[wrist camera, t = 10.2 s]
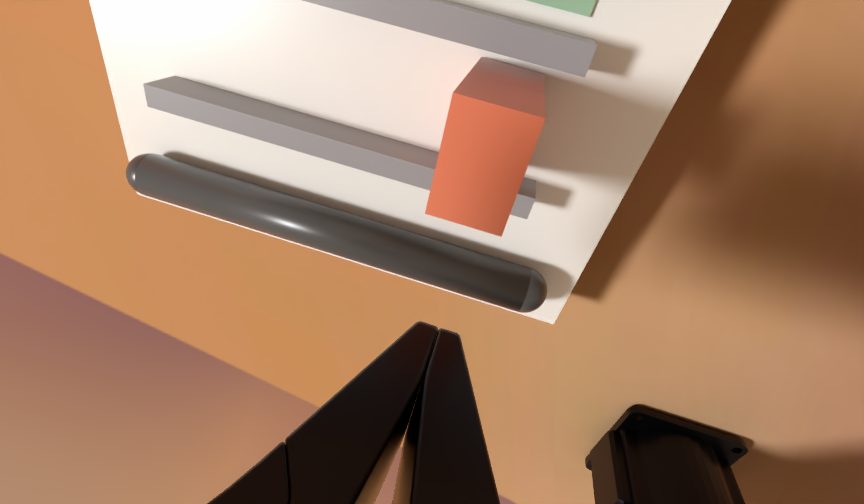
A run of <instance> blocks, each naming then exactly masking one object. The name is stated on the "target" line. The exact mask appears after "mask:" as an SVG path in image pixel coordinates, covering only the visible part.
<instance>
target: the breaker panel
mask: <svg viewBox="0 0 864 504" xmlns="http://www.w3.org/2000/svg"><path fill="white" fill-rule="evenodd" d="M89 1H90V5H91V9H92V13H93V17H94V21H95V25H96V30H97V34H98V38H99V42H100V46H101V50H102V54H103V58H104V62H105V66H106V70H107V74H108V78H109V82H110V86H111V90H112V94H113V98H114V102H115V107H116V111H117V115H118V119H119V123H120V127H121V131H122V135H123V139H124V143H125V147H126V151H127V155H128V159H129V164H128V166H127V169H126V177H127V180H128V182H129V184H130V185H131V186H132V188H133V189H134V190H136V192H137V194H138V195H141V196H144V197H148V198H151V199H154V200H157V201H160V202H164V203H167V204H170V205H173V206H176V207H180V208H183V209H186V210H189V211H192V212H196V213H199V214H202V215H205V216H208V217H212V218H215V219H218V220H221V221H224V222H228V223H231V224H234V225H237V226H240V227H244V228H247V229H250V230H253V231H256V232H260V233H263V234H266V235H269V236H272V237H276V238H279V239H282V240H285V241H288V242H292V243H295V244H298V245H301V246H304V247H308V248H311V249H314V250H317V251H320V252H324V253H327V254H330V255H333V256H336V257H340V258H343V259H346V260H349V261H352V262H356V263H359V264H362V265H365V266H368V267H372V268H375V269H378V270H381V271H384V272H387V273H391V274H394V275H397V276H400V277H403V278H407V279H410V280H413V281H416V282H419V283H423V284H426V285H429V286H432V287H435V288H439V289H442V290H445V291H448V292H451V293H455V294H458V295H461V296H464V297H467V298H471V299H474V300H477V301H480V302H483V303H487V304H490V305H493V306H496V307H499V308H503V309H506V310H509V311H512V312H515V313H519V314H522V315H525V316H528V317H531V318H535V319H538V320H541V321H544V322H547V323H551V324H554V322H555V320H556V319H557V317H558V315H559V313H560V311H561V309H562V308H563V306H564V304H565V302H566V300H567V299H568V297H569V295H570V293H571V291H572V289H573V288H574V286H575V284H576V282H577V280H578V279H579V277H580V275H581V273H582V271H583V269H584V268H585V266H586V264H587V262H588V260H589V259H590V257H591V255H592V253H593V251H594V249H595V248H596V246H597V244H598V242H599V240H600V239H601V237H602V235H603V233H604V231H605V229H606V228H607V226H608V224H609V222H610V220H611V219H612V217H613V215H614V213H615V211H616V209H617V208H618V206H619V204H620V202H621V200H622V199H623V197H624V195H625V193H626V191H627V189H628V188H629V186H630V184H631V182H632V180H633V179H634V177H635V175H636V173H637V171H638V169H639V168H640V166H641V164H642V162H643V160H644V159H645V157H646V155H647V153H648V151H649V149H650V148H651V146H652V144H653V142H654V140H655V139H656V137H657V135H658V133H659V131H660V129H661V128H662V126H663V124H664V122H665V120H666V119H667V117H668V115H669V113H670V111H671V109H672V108H673V106H674V104H675V102H676V100H677V99H678V97H679V95H680V93H681V91H682V89H683V88H684V86H685V84H686V82H687V80H688V79H689V77H690V75H691V73H692V71H693V69H694V68H695V66H696V64H697V62H698V60H699V59H700V57H701V55H702V53H703V51H704V49H705V48H706V46H707V44H708V42H709V40H710V39H711V37H712V35H713V33H714V31H715V29H716V28H717V26H718V24H719V22H720V20H721V19H722V17H723V15H724V13H725V11H726V9H727V8H728V6H729V4H730V2H731V0H89ZM481 57H484V58H488V59H492V60H495V61H499V62H503V63H506V64H510V65H514V66H517V67H521V68H525V69H528V70H532V71H536V72H539V73H543V74H544V78H545V111H546V119H545V122H544V125H543V127H542V130H541V133H540V135H539V138H538V141H537V143H536V146H535V149H534V151H533V154H532V157H531V159H530V162H529V165H528V167H527V170H526V173H525V175H524V178H523V181H522V183H521V186H520V189H519V191H518V194H517V197H516V199H515V202H514V205H513V207H512V210H511V213H510V215H509V218H508V221H507V223H506V226H505V229H504V231H503V234H502V237H501V236H497V235H494V234H491V233H487V232H484V231H481V230H477V229H474V228H471V227H467V226H464V225H461V224H457V223H454V222H451V221H447V220H444V219H441V218H437V217H434V216H431V215H428V214H425V211H426V206H427V202H428V198H429V193H430V189H431V185H432V180H433V176H434V172H435V167H436V163H437V159H438V154H439V150H440V146H441V141H442V137H443V133H444V128H445V124H446V120H447V115H448V111H449V107H450V102H451V98H452V94H453V92H454V90H455V89H456V88H457V87H458V85H459V84H460V83H461V82H462V80H463V79H464V78H465V77H466V75H467V74H468V73H469V72H470V70H471V69H472V68H473V67H474V65H475V64H476V63H477V62H478V60H479V59H480V58H481Z"/></svg>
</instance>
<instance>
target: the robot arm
mask: <svg viewBox="0 0 864 504" xmlns="http://www.w3.org/2000/svg"><path fill="white" fill-rule="evenodd" d="M436 335H437V336H436ZM435 338H436V339H435ZM434 341H435V342H434ZM433 344H434V345H433ZM429 357H430V358H429ZM428 360H429V361H428ZM423 376H424V377H423ZM422 379H423V380H422ZM417 395H418V396H417ZM416 398H417V399H416ZM415 401H416V402H415ZM414 404H415V405H414ZM412 411H413V412H412ZM411 414H412V415H411ZM410 417H411V418H410ZM409 420H410V421H409ZM408 423H409V424H408ZM407 426H408V428H407ZM406 429H407V431H406ZM405 432H406V435H405ZM404 435H405V438H404ZM403 438H404V443H403V448H402V453H401V458H400V463H399V468H398V474H397V479H396V484H395V490H394V495H393V500H392V504H500V501H499V497H498V492H497V488H496V484H495V480H494V476H493V472H492V467H491V463H490V459H489V455H488V451H487V446H486V442H485V438H484V434H483V430H482V426H481V421H480V417H479V413H478V409H477V405H476V401H475V396H474V392H473V388H472V384H471V380H470V375H469V371H468V367H467V363H466V359H465V355H464V350H463V346H462V342H461V338H460V336H459V334H457V333H455V332H452V331H449V330H446V329H442V328H441V329H439V330H438V329H437V327H436V326H433V325H430V324H427V323H424V322H421V321H419V322H417V323H415V324H414V325H413V326H412V327H411V328H410V329H408V330H407V331H406V332H405V333H404V334H403V335H402V336H401V337H399V338H398V339H397V340H396V341H395V342H394V343H393V344H392V345H390V346H389V347H388V348H387V349H386V350H385V351H384V352H383V353H381V354H380V355H379V356H378V357H377V358H376V359H375V360H374V361H372V362H371V363H370V364H369V365H368V366H367V367H366V368H365V369H363V370H362V371H361V372H360V373H359V374H358V375H357V376H356V377H354V378H353V379H352V380H351V381H350V382H349V383H348V384H347V385H345V386H344V387H343V388H342V389H341V390H340V391H339V392H338V393H336V394H335V395H334V396H333V397H332V398H331V399H330V400H328V401H327V402H326V403H325V404H324V405H323V406H322V407H321V408H319V409H318V410H317V411H316V412H315V413H314V414H313V415H312V416H310V417H309V418H308V419H307V420H306V421H305V422H304V423H303V424H301V425H300V426H299V427H298V428H297V429H296V430H295V431H294V432H292V433H291V434H290V435H289V436H288V437H287V438H286V440H285V443H284V442H281V443H280V444H279V445H278V446H276V447H275V448H274V449H273V450H272V451H271V452H270V453H269V454H267V455H266V456H265V457H264V458H263V459H262V460H261V461H259V462H258V463H257V464H256V465H255V466H253V467H252V468H251V469H250V470H249V471H247V472H246V473H245V474H244V475H243V476H242V477H240V478H239V479H238V480H237V481H236V482H234V483H233V484H232V485H231V486H230V487H228V488H227V489H226V490H224V491H223V492H222V493H220V494H219V495H218V496H216V497H215V498H214V499H213V500H212V501H210V502H209V503H207V504H374V503H375V501H376V498H377V496H378V494H379V491H380V489H381V487H382V485H383V483H384V481H385V478H386V476H387V474H388V472H389V470H390V467H391V465H392V463H393V461H394V458H395V456H396V454H397V452H398V450H399V447H400V445H401V443H402V440H403ZM747 452H748V449H747V446H746V444H745V442H744V441H743V440H741V439H738V438H735V437H732V436H729V435H726V434H723V433H720V432H717V431H714V430H710V429H707V428H704V427H701V426H698V425H695V424H692V423H689V422H686V421H682V420H679V419H676V418H673V417H670V416H667V415H664V414H661V413H658V412H654V411H651V410H648V409H645V408H642V407H638V406H633V407H630V408H628V409H627V410H626V411H625V413H624V414H623V415H622V416H621V417H620V418H619V420H618V421H617V422H616V423H615V424H614V425H613V427H612V428H611V429H610V430H609V431H608V432H607V433H606V434H605V435H604V436H603V437H602V438H601V440H600V441H599V442H598V443H597V444H596V445H595V447H594V448H593V449H592V450H591V451H590V454H589V455H588V456H587V457H586V459H585V464H586V468H587V469H589V470H591V471H592V477H593V487H594V497H595V504H745V502H744V500H743V497H742V495H741V492H740V489H739V487H738V484H737V482H736V479H735V477H734V474H733V472H732V469H731V465H732V464H733V463H735V462H736V461H737V460H738V459H740V458H741V457H742V456H744V455H745V454H746V453H747Z"/></svg>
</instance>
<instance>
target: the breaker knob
mask: <svg viewBox="0 0 864 504" xmlns="http://www.w3.org/2000/svg"><path fill="white" fill-rule="evenodd" d="M545 119H546V111H545V78H544V74H543V73H539V72H536V71H532V70H528V69H525V68H521V67H517V66H514V65H510V64H506V63H503V62H499V61H495V60H492V59H488V58H484V57H481V58H480V59H479V60H478V62H477V63H476V64H475V65H474V67H473V68H472V69H471V70H470V72H469V73H468V74H467V75H466V77H465V78H464V79H463V80H462V82H461V83H460V84H459V85H458V87H457V88H456V89H455V90H454V92H453V94H452V98H451V102H450V107H449V111H448V115H447V120H446V124H445V128H444V133H443V137H442V141H441V146H440V150H439V154H438V159H437V163H436V167H435V172H434V176H433V180H432V185H431V189H430V193H429V198H428V202H427V206H426V211H425V214H428V215H431V216H434V217H437V218H441V219H444V220H447V221H451V222H454V223H457V224H461V225H464V226H467V227H471V228H474V229H477V230H481V231H484V232H487V233H491V234H494V235H497V236H501V237H502V234H503V231H504V229H505V226H506V223H507V221H508V218H509V215H510V213H511V210H512V207H513V205H514V202H515V199H516V197H517V194H518V191H519V189H520V186H521V183H522V181H523V178H524V175H525V173H526V170H527V167H528V165H529V162H530V159H531V157H532V154H533V151H534V149H535V146H536V143H537V141H538V138H539V135H540V133H541V130H542V127H543V125H544V122H545Z"/></svg>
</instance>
